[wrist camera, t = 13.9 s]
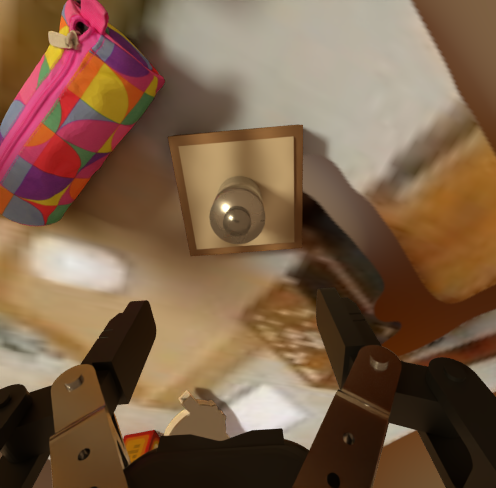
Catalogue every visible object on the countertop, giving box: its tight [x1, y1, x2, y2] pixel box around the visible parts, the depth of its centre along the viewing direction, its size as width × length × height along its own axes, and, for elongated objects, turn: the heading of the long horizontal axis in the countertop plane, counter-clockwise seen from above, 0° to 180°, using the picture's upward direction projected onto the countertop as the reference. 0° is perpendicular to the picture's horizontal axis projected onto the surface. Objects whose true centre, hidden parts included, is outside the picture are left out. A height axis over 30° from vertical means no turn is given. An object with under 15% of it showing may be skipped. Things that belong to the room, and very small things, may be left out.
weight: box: [209, 176, 265, 244], centre depth 26 cm, size 5×5×8 cm
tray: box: [168, 125, 303, 256], centre depth 32 cm, size 14×14×3 cm
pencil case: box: [0, 0, 165, 226], centre depth 26 cm, size 22×9×9 cm, turn 137°
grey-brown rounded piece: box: [164, 390, 230, 441], centre depth 48 cm, size 15×8×11 cm, turn 27°
